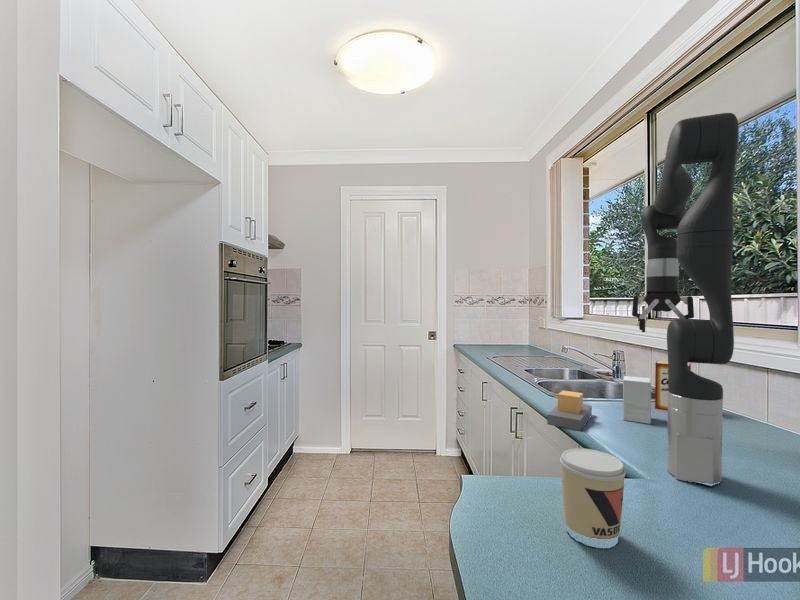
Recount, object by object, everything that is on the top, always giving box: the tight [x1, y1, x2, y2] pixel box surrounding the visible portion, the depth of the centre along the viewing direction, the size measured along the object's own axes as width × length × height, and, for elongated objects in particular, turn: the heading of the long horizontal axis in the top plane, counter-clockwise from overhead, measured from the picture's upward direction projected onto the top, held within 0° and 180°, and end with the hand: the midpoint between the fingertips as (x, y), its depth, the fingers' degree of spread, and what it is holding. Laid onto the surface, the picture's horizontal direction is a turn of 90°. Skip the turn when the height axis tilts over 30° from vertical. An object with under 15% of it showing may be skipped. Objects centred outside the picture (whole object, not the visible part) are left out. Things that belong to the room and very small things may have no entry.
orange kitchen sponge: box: [557, 390, 584, 414], centre depth 118 cm, size 6×6×5 cm
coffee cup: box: [559, 447, 627, 539], centre depth 61 cm, size 9×9×12 cm
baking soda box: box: [654, 359, 692, 412], centre depth 130 cm, size 10×6×16 cm
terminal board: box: [546, 403, 593, 432], centre depth 118 cm, size 18×9×6 cm, turn 144°
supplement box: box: [622, 375, 652, 425], centre depth 119 cm, size 7×7×13 cm
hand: (661, 333), depth 107 cm, fingers open, 8 cm apart
